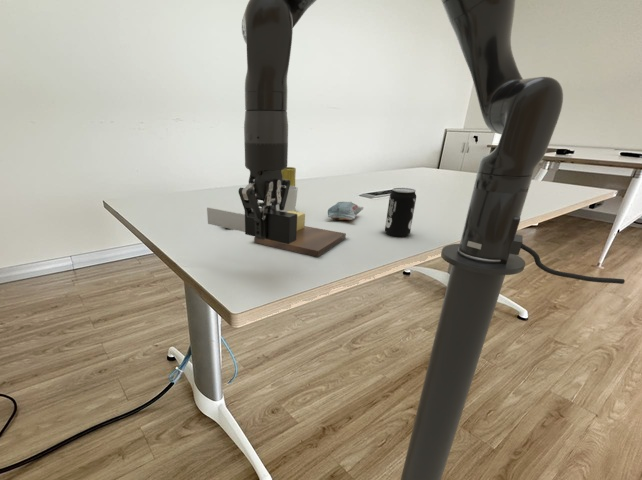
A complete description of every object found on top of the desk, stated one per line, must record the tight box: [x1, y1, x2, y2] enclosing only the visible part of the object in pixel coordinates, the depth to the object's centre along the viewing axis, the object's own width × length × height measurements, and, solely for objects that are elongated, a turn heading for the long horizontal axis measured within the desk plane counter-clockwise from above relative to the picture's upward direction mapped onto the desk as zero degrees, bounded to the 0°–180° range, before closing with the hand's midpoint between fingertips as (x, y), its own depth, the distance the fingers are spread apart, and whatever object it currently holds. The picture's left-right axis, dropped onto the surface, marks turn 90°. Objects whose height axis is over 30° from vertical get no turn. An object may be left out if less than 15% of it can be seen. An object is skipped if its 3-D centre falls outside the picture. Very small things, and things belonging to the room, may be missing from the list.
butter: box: [288, 211, 306, 231], centre depth 92 cm, size 5×7×4 cm
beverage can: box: [384, 187, 417, 238], centre depth 92 cm, size 7×7×12 cm
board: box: [253, 225, 347, 258], centre depth 88 cm, size 18×16×2 cm
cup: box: [279, 185, 299, 212], centre depth 104 cm, size 8×8×10 cm
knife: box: [206, 207, 297, 244], centre depth 68 cm, size 21×3×5 cm, turn 57°
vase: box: [281, 166, 297, 212], centre depth 113 cm, size 6×6×14 cm
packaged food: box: [327, 201, 364, 221], centre depth 108 cm, size 9×12×5 cm
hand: (266, 235), depth 66 cm, fingers closed on knife, 3 cm apart
